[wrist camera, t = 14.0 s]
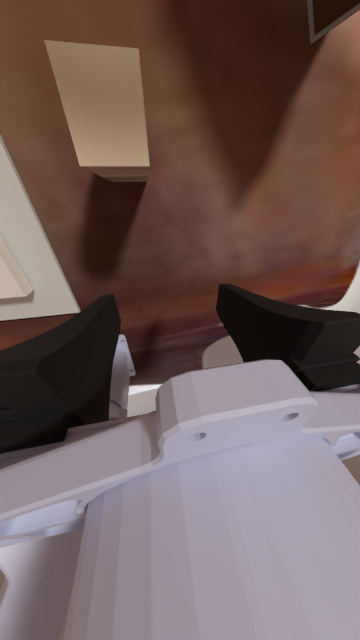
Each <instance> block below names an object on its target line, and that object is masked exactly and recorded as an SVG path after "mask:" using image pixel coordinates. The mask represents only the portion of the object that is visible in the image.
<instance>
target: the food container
mask: <svg viewBox="0 0 360 640" xmlns="http://www.w3.org/2000/svg"><path fill="white" fill-rule="evenodd" d="M307 7H308V20H309V33H310V45H311V44H312V43H313V42H315V41H316V40H318V39H319V38H321V37H322V36H323V35H325V34H326V33H328V32H329V31H330V30H332V29H333V28H335V27H336V26H337V25H339V24H340V23H342V22H343V21H345V20H346V19H347V18H349V17H350V16H352V15H353V14H354V13H356V12H357V11H359V10H360V0H307Z"/></svg>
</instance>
